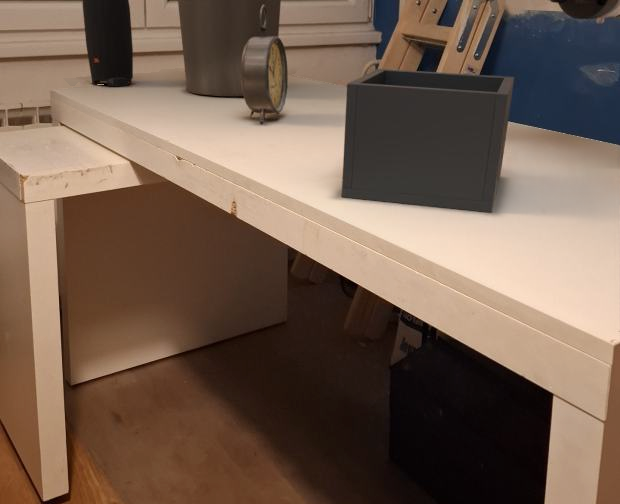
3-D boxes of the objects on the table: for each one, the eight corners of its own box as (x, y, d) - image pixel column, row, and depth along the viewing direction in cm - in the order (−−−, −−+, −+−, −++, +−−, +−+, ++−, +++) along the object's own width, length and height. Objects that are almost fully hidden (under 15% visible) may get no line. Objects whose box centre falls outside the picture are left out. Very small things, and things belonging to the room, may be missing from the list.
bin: (500, 178, 86) (514, 76, 81) (491, 212, 73) (507, 94, 68) (371, 166, 90) (377, 68, 85) (341, 197, 77) (346, 83, 72)
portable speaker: (105, 88, 143) (94, -27, 134) (81, 82, 149) (70, -28, 140) (144, 85, 148) (136, -26, 139) (119, 80, 154) (111, -27, 145)
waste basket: (167, 82, 153) (159, -88, 140) (265, 82, 159) (266, -82, 146) (187, 102, 130) (179, -99, 117) (301, 101, 135) (305, -92, 122)
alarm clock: (269, 126, 112) (270, 6, 105) (235, 123, 113) (233, 4, 106) (289, 115, 121) (290, 4, 114) (257, 112, 122) (256, 3, 115)
